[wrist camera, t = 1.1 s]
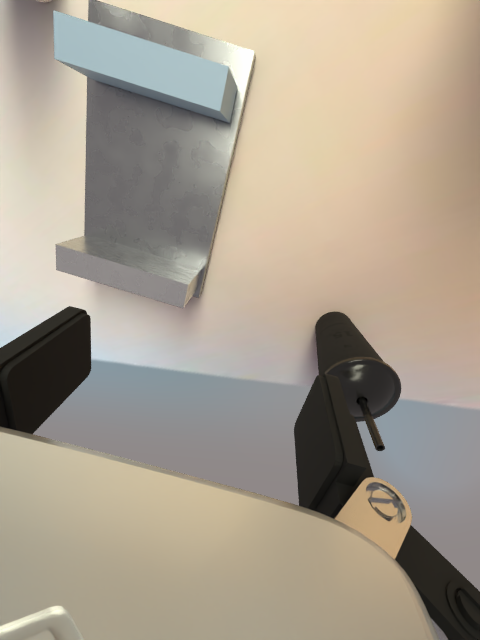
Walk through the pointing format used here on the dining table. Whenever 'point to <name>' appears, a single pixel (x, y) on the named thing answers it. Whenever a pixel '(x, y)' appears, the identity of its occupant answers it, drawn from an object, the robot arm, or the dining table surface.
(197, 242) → the vise base
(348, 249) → the dining table surface
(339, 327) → the drinking cup
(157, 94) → the bar
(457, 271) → the dining table surface
